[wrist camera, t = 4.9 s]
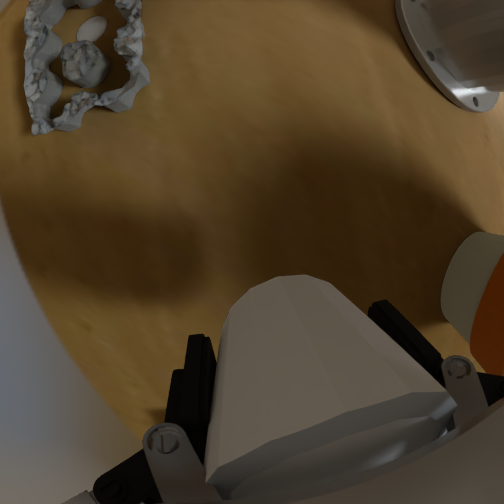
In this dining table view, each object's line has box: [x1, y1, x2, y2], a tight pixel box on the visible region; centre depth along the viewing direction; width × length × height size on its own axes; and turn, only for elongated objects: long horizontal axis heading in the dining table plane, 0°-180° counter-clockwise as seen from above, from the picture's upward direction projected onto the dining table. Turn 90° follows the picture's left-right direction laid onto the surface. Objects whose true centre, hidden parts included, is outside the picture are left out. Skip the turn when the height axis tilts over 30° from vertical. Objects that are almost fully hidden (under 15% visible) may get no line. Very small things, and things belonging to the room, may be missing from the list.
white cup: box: [204, 275, 458, 501], centre depth 8 cm, size 7×7×7 cm
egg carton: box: [24, 0, 150, 136], centre depth 9 cm, size 11×8×4 cm
